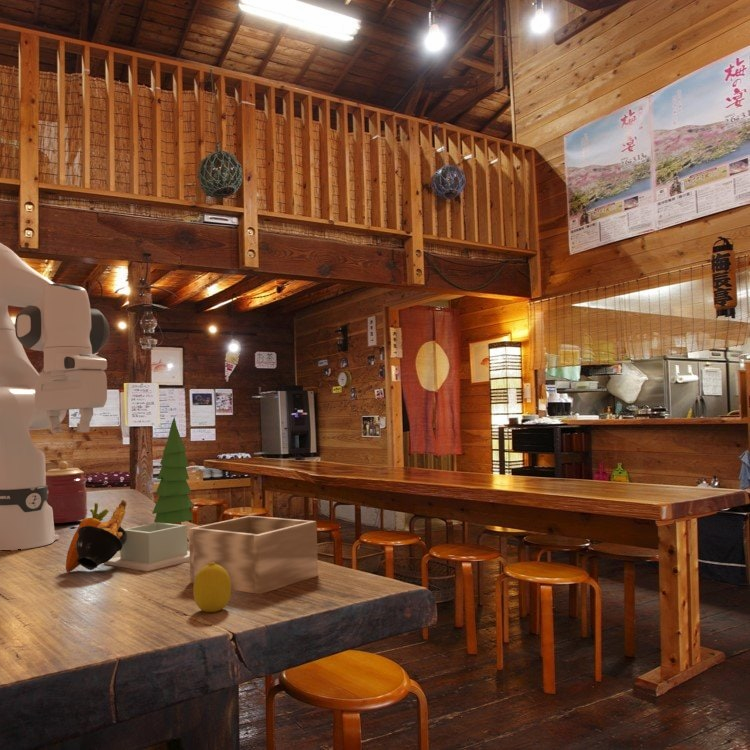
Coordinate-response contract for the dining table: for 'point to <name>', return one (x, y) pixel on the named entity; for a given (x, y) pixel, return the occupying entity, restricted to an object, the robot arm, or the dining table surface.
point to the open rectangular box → (153, 547)
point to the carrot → (72, 552)
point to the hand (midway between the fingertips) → (69, 432)
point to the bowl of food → (101, 540)
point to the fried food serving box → (257, 551)
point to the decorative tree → (173, 483)
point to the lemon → (212, 588)
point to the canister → (67, 493)
